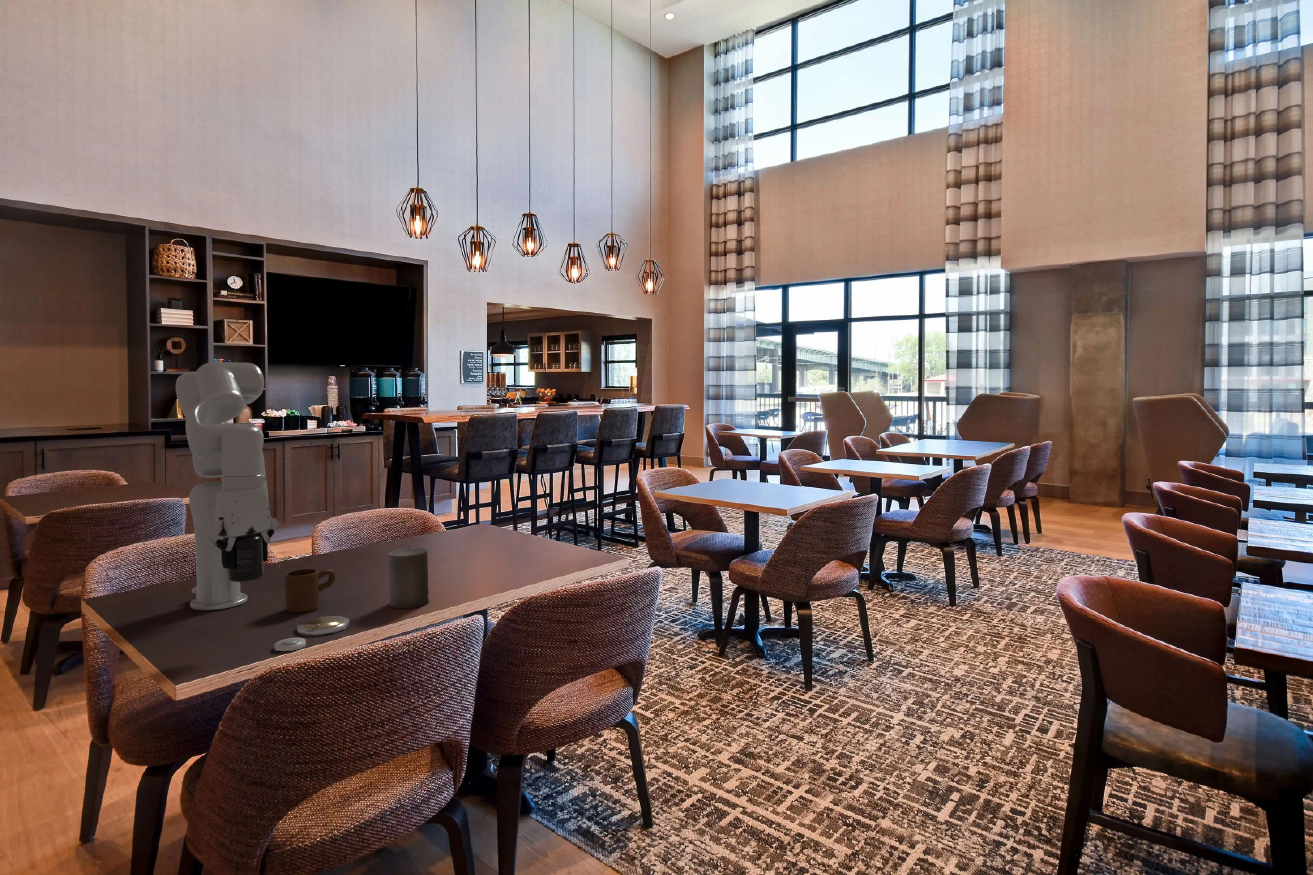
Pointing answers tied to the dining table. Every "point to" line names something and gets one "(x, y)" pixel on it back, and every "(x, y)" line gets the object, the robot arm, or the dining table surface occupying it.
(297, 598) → the mug
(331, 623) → the silver and gold coaster
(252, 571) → the supplement bottle
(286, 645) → the plastic flange
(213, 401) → the robot arm
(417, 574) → the pillar candle
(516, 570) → the dining table surface
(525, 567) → the dining table surface
